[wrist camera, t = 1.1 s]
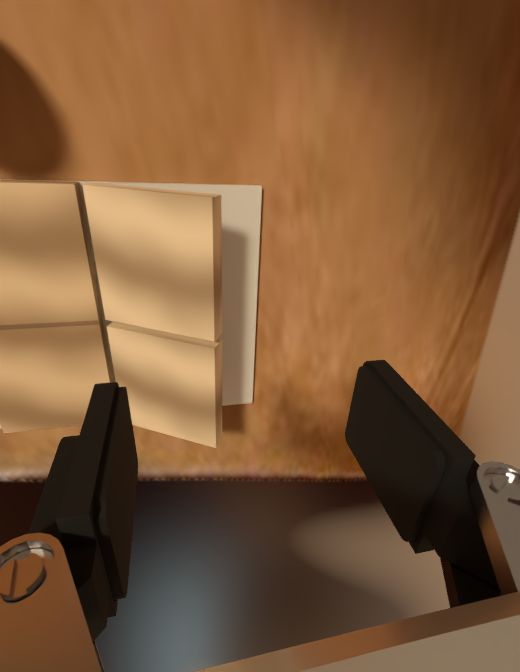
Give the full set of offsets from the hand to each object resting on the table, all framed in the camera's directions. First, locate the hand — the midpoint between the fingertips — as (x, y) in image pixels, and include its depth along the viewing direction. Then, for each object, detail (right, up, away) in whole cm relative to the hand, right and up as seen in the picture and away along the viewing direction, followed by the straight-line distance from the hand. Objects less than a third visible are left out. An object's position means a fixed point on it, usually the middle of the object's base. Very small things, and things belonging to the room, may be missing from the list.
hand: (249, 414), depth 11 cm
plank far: (-6, -1, +16) cm, 18 cm away
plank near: (-6, +7, +12) cm, 15 cm away
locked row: (-15, +4, +15) cm, 21 cm away
